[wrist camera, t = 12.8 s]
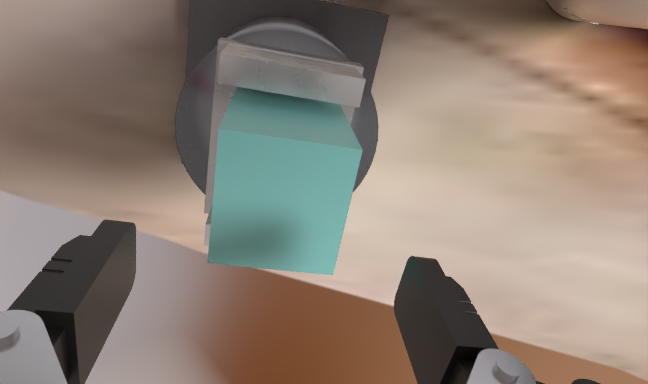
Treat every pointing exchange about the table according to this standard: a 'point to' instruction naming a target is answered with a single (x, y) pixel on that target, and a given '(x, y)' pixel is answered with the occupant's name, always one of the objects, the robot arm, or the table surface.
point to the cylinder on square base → (275, 70)
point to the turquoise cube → (282, 183)
